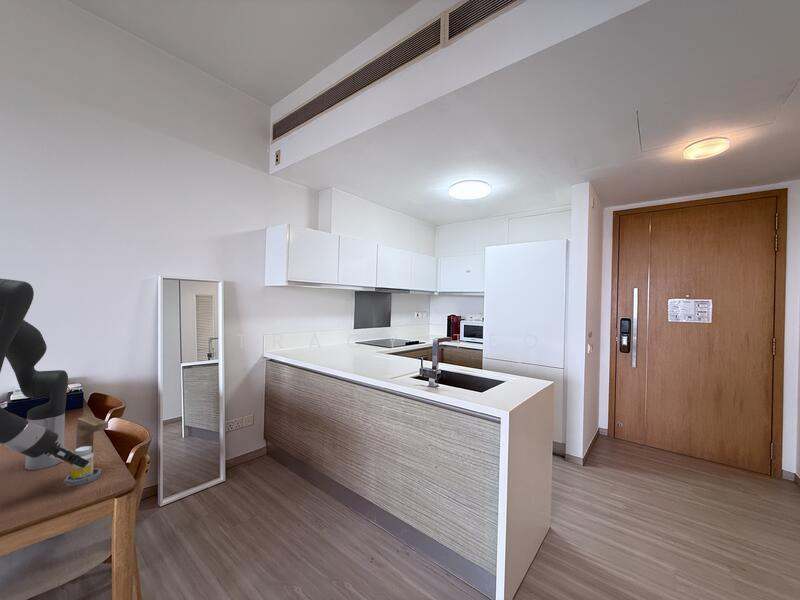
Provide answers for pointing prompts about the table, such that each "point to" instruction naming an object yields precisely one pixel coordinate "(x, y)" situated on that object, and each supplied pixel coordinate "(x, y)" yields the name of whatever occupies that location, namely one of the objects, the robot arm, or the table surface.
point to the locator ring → (82, 481)
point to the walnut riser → (88, 430)
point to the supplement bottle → (87, 471)
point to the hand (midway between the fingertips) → (80, 461)
